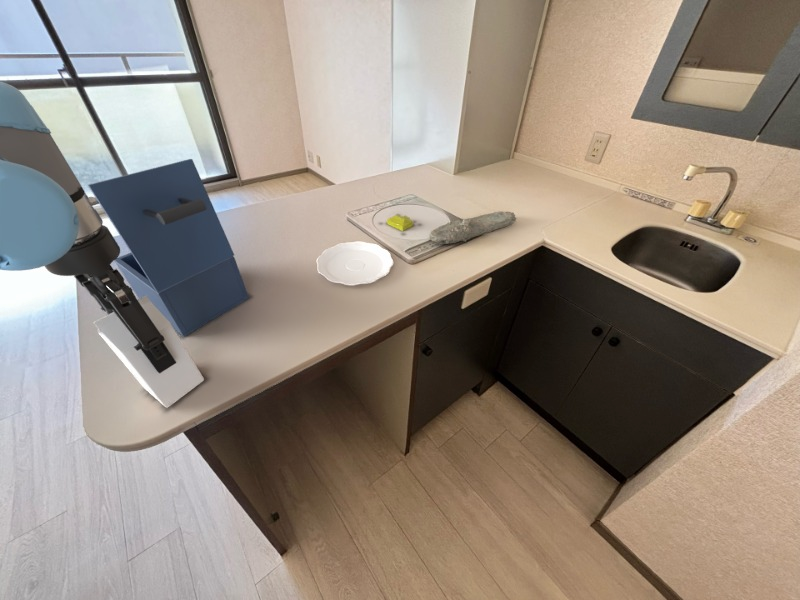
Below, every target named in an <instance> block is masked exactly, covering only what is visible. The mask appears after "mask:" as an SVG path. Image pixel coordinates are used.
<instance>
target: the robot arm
mask: <svg viewBox="0 0 800 600" xmlns="http://www.w3.org/2000/svg"><path fill="white" fill-rule="evenodd" d="M51 134H52V132H51V130H50V128H48V127H47V125H46V124H45V123H44V121H43V120H42V118H41V117H40V115H39V114H38V112H37V111H36V110H35V108H34V106H32V104H31V103H30V101H29V100H28V98H26V96H25V95H24V94H23V92H22V91H20V90H19V89H18V88H16V87H15V86H14V85H11V84H9V83H6V82H4V81H0V270H1V271H7V272H8V271H10V272H12V271H13V272H14V271H15V272H17V271H19V272H21V271H22V272H23V271H31V270H36V269H40V268H42V267H44V268H45V269H46V270H47V271H48V272H49V273H51V274H53V275H56V276H60V277H73V278H75V280H76V281H77V282H78V283H79V285H81V286H82V287H83V288H84V289H85V290H86V291H87V292H88V294H89V295H90V296H91V297H93V298H94V300H95V301H96V302H97V304H98V305H99V307H100V309H101V310H102V311H103V312H105V313H106V315H109V314H111V313H113V312H114V313H115V314H116V316H117V317H118V318H119V319H120V320H121V322H122V323H123V324H124V325H125V327H126V328H127V329H128V330H129V332H130V333H131V334H132V335H133V337H134V338H135V339H136V340H137V342H138V344H137V345H136V346H134V348H135V349H136V350H137V351H138V350H140V349H141V350H142V351H143V353H144V354H145V356H146V357H147V358H148V360H149V361H150V362H151V364H152V365H153V366H154V368H155V369H156V370H157V372H158V373H159V374H160V373H161V372H163V371H164V370H166V369H168V368H169V367H171V366H172V365H174V364H176V361H175V359H174V358H173V356H172V355H171V353H170V352H169V350H168V349H167V347H166V346H165V344H164V343H163V341H164V337H163V335H161V334H160V332H159V331H158V329H157V328H156V326H155V325H154V324H153V322H152V321H151V319H150V318H149V316H148V315H147V313H146V312H145V310H144V309H143V308H142V306H141V305H140V303H139V302H138V299H137V297H136V294H135V292H134V291H133V289H132V287H131V286H130V285H127V284H126V283H125V277H124V275H123V274H122V273H121V271H120V270H118V269H117V268H115V269H114V268H113V267H112V265H111V264H112V263H114V262H115V261H114V260H116V259H117V258H119V257H120V254H121V248H120V245H119V244H118V241H116V239H115V238H114V236H113V234H112V232H111V231H110V229H109V228H108V226H106V225H103V224H104V221H103V219H102V217H101V216H100V214H99V211H97V209H96V208H94V206H96V205H97V204H98V201H97V199H96V198H95V196H88V194H87V193H86V191H85V189H84V188H83V186H82V184H81V183H80V181H79V180H78V178H77V176H76V174H75V173H74V171H73V170H72V167H71V166H70V165H69V162H68V161H67V160H66V158H65V156H64V154H63V152H62V151H61V150H60V148H59V146H58V145H57V143H56V142H55V139H54V138H53V136H52V135H51Z"/></svg>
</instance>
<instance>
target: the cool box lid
mask: <svg viewBox="0 0 800 600" xmlns="http://www.w3.org/2000/svg"><path fill="white" fill-rule="evenodd" d="M87 187H88V188H89V190H90V191H91V193H92V194H93V197H94V198H95V199H96V200H97V203H98V204H99V205H100V207H101V208H102V210H103V211H104V213H105V215H106V216H107V218H108V220H109V221H110V222H111V224H112V225H113V227H114V228H115V230H116V231H117V233H118V234H119V236H120V238H121V239H122V241H123V242H124V244H125V245H126V247H127V249H128V250H129V253H132V255H133V256H134V258H135V259H136V261H137V262H138V264H139V266H140V267H141V269H142V270H143V272H144V273H145V275H146V276H147V278H148V279H149V281H150V282H151V284H152V286H153V287H154V289H155V290H156V291H157V292H160V291H162V290H164V289H166V288H168V287H170V286H172V285H174V284H176V283H178V282H180V281H182V280H185V279H187V278H189V277H191V276H193V275H195V274H197V273H199V272H201V271H203V270H205V269H207V268H209V267H211V266H213V265H215V264H217V263H219V262H222V261H224V260H226V259H228V258H230V257H232V256H234V257H235V253H234V251H233V249H232V246H231V244H230V242H229V240H228V237H227V235H226V233H225V230H224V228H223V226H222V223H221V221H220V219H219V217H218V215H217V212H216V210H215V208H214V205H213V203H212V201H211V198H210V196H209V193H208V192H207V189H206V187H205V185H204V183H203V179H202V178H201V176H200V173H199V171H198V169H197V167H196V165H195V162H194V160H193V159H192V158H188V159H183V160H180V161H176V162H172V163H168V164H164V165H160V166H157V167H151V168H149V169H144V170H141V171H136V172H133V173H129V174H125V175H121V176H116V177H113V178H109V179H105V180H101V181H96V182H93V183H89V184H87Z"/></svg>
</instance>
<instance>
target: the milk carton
mask: <svg viewBox="0 0 800 600" xmlns="http://www.w3.org/2000/svg"><path fill="white" fill-rule="evenodd" d="M137 300H138V302H139V303H140V305H141V306H142V308H143V309H144V310H145V312H146V313H147V315H148V316H149V318H150V319H151V321H152V322H153V324H154V325H155V326H156V328H157V329H158V331H159V332H160V334H161V335H163V337H164V341H163V343H164V344H165V346H166V347H167V349H168V350H169V352H170V353H171V355H172V356H173V358H174V359H175V361H176V364H174V365H172V366H171V367H169V368H168V369H166V370H164V371H163V372H161V373H160V374H159V373H158V372H157V370H156V369H155V368H154V366H153V365H152V364H151V362H150V361H149V360H148V358H147V357H146V356H145V354H144V353H143V351H142V350H141V349H140V350H138V351H137V350H136V349H135V348H134V346H136V345H137V344H138V342H137V340H136V339H135V338H134V337H133V335H132V334H131V333H130V332H129V330H128V329H127V328H126V327H125V325H124V324H123V323H122V322H121V320H120V319H119V318H118V317H117V316H116V314H115V313H114V312H113V313H111V314H109V315H108V314H106V315H105V316H103V317H100V318H99V319H97V320H95V321H93V324H94V325H95V327H96V328H97V333H98V334H99V336H100V337H101V338H102V339H103V340H104V342H105V343H106V345H108V347H109V348H110V349H111V351H113V353H114V354H115V355H116V357H117V358H118V359H119V360H120V361H121V363H122V364H123V365H124V367H126V368H127V369H128V371H129V372H130V373H131V374H132V376H133V377H134V378H135V380H137V382H138V383H139V384H140V386H141V387H142V388H143V389H144V390H145V391H146V392H147V393H149V394H150V396H152V397H153V398H155V399H156V400H157V401H158V402H159V403H160V404H161V405H162V406H163V407H164V408H166V409H168V408H170V407H171V406H172V405H173V404H175V403H176V402H177V401H179V400H180V399H182V398H183V397H184V396H185V395H186V394H188V393H189V392H191V391H192V390H193V389H195V388H196V387H197V386H198V385H201V383H203V382H204V381H205V378H204V376H203V375H202V373H201V372H200V369H199V368H198V367H197V365H196V363H195V362H194V360H193V358H192V356H191V354H190V353H189V352H188V350H187V348H186V347H185V345H184V343H183V342H182V340H181V338H180V336H179V335H178V332H177V331H176V330H175V329H174V328H173V326H172V325H171V323H170V322H169V321H168V320H167V319H166V318H165V317H164V315H163V314H162V313H161V312H160V311H159V310H158V309H157V308H156V307H155V306H154V305H153V304H152V303H151V302H150V300H149V298H148V297H147V296H144V297H142V298H140V299H139V298H138V299H137Z"/></svg>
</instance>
